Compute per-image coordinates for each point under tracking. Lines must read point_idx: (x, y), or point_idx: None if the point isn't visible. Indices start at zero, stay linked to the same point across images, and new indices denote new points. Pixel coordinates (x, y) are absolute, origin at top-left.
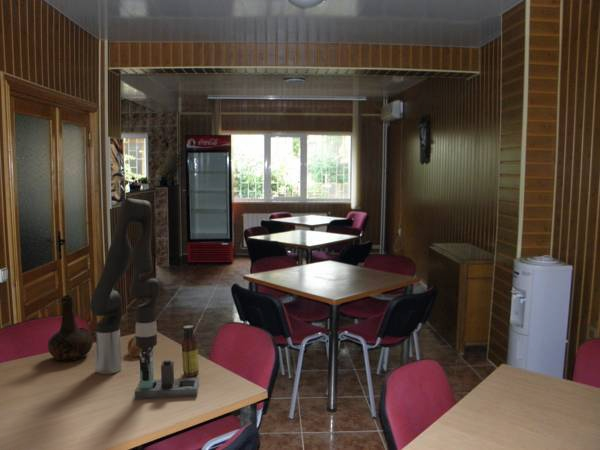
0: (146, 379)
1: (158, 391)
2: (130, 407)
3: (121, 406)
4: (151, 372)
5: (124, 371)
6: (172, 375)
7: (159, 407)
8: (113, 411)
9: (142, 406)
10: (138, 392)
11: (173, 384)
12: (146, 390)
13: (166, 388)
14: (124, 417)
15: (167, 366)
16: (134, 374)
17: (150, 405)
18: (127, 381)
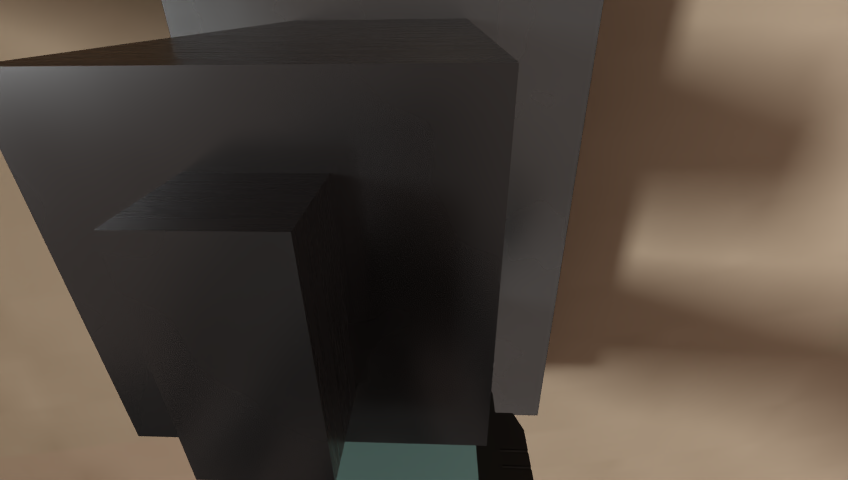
0: (517, 425)
1: (568, 200)
2: (668, 364)
3: (624, 416)
4: (460, 454)
5: (2, 476)
6: (467, 28)
7: (788, 127)
8: (692, 445)
9: (686, 285)
10: (539, 380)
11: (388, 15)
12: (534, 328)
13: (528, 108)
14: (843, 375)
15: (495, 251)
16: (30, 420)
17: (693, 223)
18: (172, 441)
